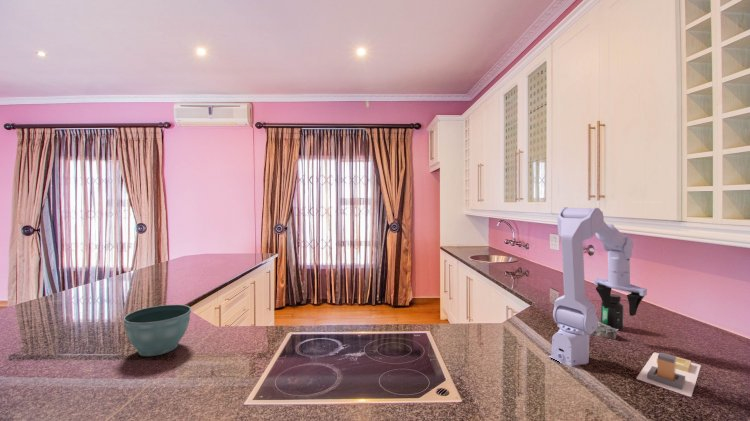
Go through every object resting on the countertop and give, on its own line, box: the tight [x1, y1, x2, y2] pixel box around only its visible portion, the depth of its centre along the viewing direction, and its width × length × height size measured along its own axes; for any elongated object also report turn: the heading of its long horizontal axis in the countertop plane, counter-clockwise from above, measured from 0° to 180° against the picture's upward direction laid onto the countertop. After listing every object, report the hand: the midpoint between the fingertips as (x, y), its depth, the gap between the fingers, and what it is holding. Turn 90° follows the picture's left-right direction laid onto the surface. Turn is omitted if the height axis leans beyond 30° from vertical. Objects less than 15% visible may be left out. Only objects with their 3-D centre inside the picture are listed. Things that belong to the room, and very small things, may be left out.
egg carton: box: [590, 320, 620, 340], centre depth 112 cm, size 11×8×4 cm
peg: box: [657, 352, 677, 381], centre depth 81 cm, size 3×3×6 cm
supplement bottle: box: [600, 293, 625, 331], centre depth 119 cm, size 7×7×12 cm
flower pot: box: [123, 304, 192, 357], centre depth 93 cm, size 16×16×11 cm
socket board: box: [636, 352, 702, 398], centre depth 85 cm, size 24×10×2 cm, turn 131°
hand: (619, 311), depth 106 cm, fingers open, 7 cm apart
